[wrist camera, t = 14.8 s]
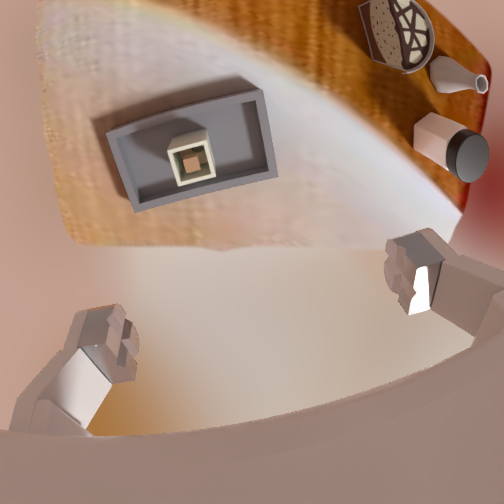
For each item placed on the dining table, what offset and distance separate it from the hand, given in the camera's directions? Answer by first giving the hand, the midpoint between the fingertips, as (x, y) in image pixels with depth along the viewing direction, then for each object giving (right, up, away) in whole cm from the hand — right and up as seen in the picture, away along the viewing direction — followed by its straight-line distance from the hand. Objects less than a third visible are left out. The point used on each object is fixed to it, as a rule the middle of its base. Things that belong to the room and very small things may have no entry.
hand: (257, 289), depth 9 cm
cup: (-8, +16, +35) cm, 39 cm away
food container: (+20, +35, +28) cm, 49 cm away
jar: (+31, +22, +38) cm, 54 cm away
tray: (-9, +16, +35) cm, 40 cm away
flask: (+33, +32, +32) cm, 56 cm away
